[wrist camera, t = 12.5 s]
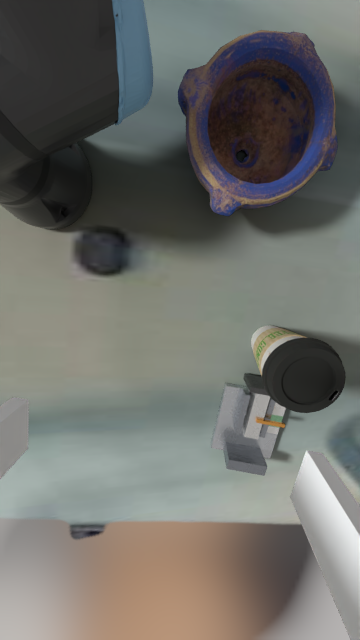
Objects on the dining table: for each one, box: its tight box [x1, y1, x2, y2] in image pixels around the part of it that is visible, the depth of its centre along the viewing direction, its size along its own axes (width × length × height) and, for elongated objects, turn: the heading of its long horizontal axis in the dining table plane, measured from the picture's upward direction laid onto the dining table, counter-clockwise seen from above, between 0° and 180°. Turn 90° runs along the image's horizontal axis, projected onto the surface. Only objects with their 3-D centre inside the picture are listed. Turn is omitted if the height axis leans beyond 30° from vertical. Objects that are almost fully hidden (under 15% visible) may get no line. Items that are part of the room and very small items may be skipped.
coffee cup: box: [251, 325, 345, 413], centre depth 35 cm, size 10×10×15 cm
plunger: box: [242, 374, 285, 439], centre depth 42 cm, size 11×8×5 cm
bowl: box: [178, 30, 338, 216], centre depth 31 cm, size 18×18×10 cm
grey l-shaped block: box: [211, 383, 286, 476], centre depth 43 cm, size 14×12×6 cm
